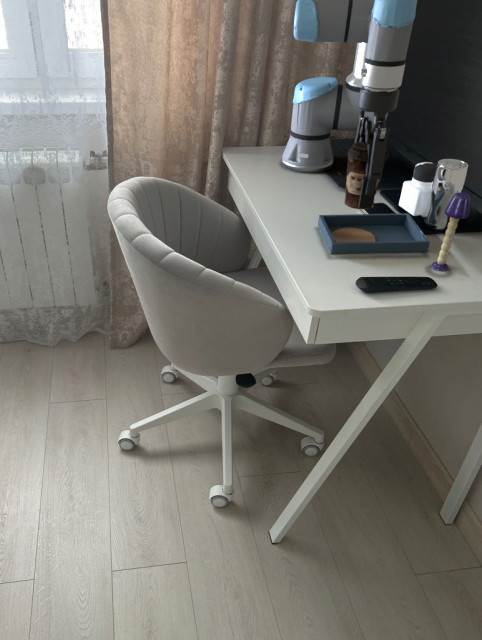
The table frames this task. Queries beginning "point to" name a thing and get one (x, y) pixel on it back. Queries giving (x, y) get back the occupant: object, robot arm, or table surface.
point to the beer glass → (444, 191)
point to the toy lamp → (452, 227)
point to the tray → (375, 233)
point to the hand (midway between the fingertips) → (359, 200)
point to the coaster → (352, 235)
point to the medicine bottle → (418, 190)
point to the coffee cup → (357, 174)
